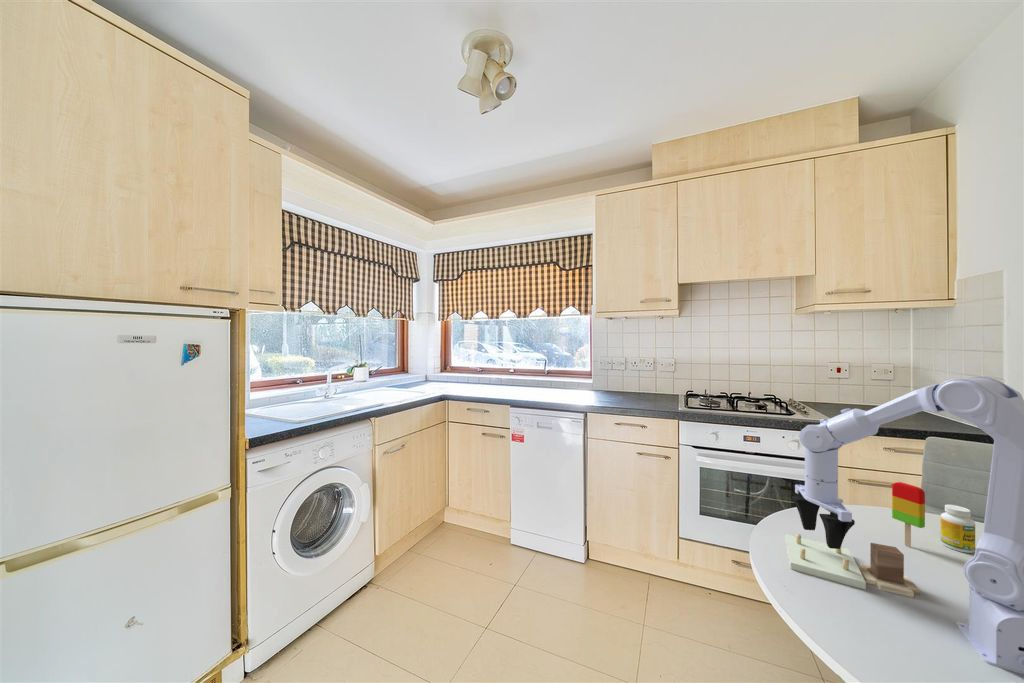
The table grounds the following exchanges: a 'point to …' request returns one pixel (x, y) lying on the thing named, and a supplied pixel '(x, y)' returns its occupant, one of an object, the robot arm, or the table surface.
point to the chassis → (823, 561)
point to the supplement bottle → (958, 529)
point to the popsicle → (908, 507)
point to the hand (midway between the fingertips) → (820, 538)
